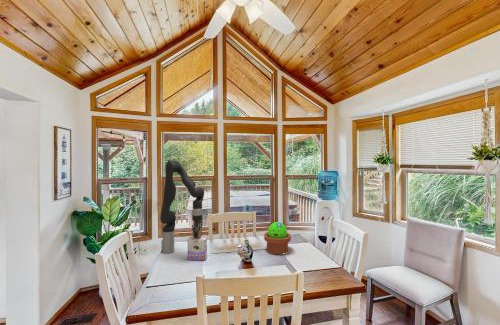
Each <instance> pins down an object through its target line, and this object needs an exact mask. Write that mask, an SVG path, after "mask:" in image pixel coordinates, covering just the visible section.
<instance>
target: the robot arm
mask: <svg viewBox="0 0 500 325" xmlns="http://www.w3.org/2000/svg"><path fill="white" fill-rule="evenodd" d="M164 169H165V170H164V171H165V172H164V174H165V176H164V179H165V180H164V187H163V188H164V189H163V198H162V199H163V200H162V206H161V212H160V215H159V216H160V218H159V219H160V222H161V223H162V224H164V226H163V227H162V240H161V247H160V248H161V253H163V254H172V253H174V252H175V228H176V213H175V212H174V211H173V210H171V209H170V208H171V206H172V204H173V202H174V200H175V199H176V194H177V187H176V185H175V181H174V173H177V174H179V176H180V179H181V183H182V184H183V185H184V186H185V188H186V189H187V191H188V193H189V195H190V196H191V197H193V198H195V199H194V200H193V201H192V212H191V213H192V214H191V215H192V221H193V224H191V230H192V233H193V232H194V237H196V238H197V231H198V229H201V230H203V222H204V221H203V201H204V196H205V190H204V189H203V187H196V182H195V181H194V180H193V179H192V178H191V177H190V176H189V174H188V172H186V169H184V167H183V165H182V164H181V163H180V161H178V160H168V161H167V162H166V164H165V168H164Z"/></svg>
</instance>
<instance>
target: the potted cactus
mask: <svg viewBox="0 0 500 325" xmlns="http://www.w3.org/2000/svg"><path fill="white" fill-rule="evenodd" d="M263 235H264V237H263V239H264V241H265V242H266V251H268V252H267V253H269V254H271V253H272V254H271V255H275V254H283V253H286V252H287V251H289V243H290V242H291V241H292V235H291V234H290V233H289V232H288V231H287V227H286V225H284V223H283V222H281V221H273V222H272V223H271V224H270V225H269V226H268V230H267V232H265V233H264V234H263ZM287 253H288V252H287ZM287 253H286V254H287ZM283 255H284V254H283Z"/></svg>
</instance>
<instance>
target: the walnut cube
mask: <svg viewBox="0 0 500 325" xmlns="http://www.w3.org/2000/svg"><path fill="white" fill-rule="evenodd" d="M192 237H193V238H196V237H194V232H193V231H192ZM200 237H203V229H198V231H197V238H200Z"/></svg>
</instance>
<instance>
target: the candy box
mask: <svg viewBox="0 0 500 325" xmlns="http://www.w3.org/2000/svg"><path fill="white" fill-rule="evenodd" d="M207 259H208V237H206V236H205V237H203V236H201V237H200V238H193V236H190V237H189V238H187V261H195V262H196V261H198V262H206V260H207Z"/></svg>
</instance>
